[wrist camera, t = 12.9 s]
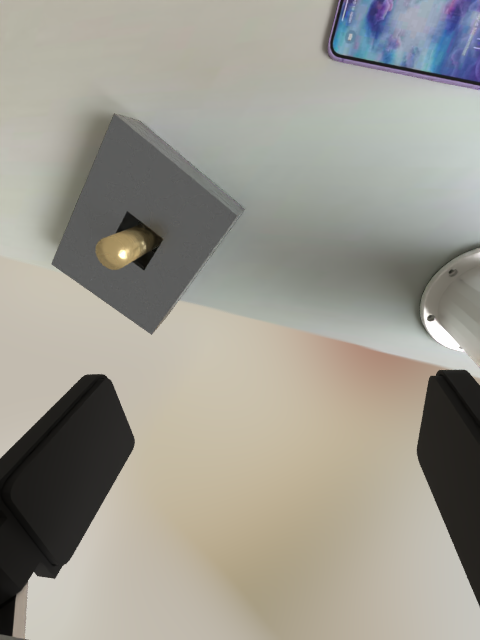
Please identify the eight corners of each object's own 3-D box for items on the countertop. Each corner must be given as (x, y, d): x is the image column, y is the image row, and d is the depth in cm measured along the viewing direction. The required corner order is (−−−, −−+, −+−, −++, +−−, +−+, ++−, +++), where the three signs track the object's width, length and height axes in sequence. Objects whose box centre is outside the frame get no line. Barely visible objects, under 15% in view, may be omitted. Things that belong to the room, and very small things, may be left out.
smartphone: (355, -66, 23) (557, -30, 22) (353, -58, 24) (548, -23, 23) (324, 56, 26) (499, 91, 25) (323, 60, 27) (492, 94, 26)
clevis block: (245, 209, 33) (237, 215, 29) (166, 316, 42) (151, 334, 37) (139, 120, 31) (114, 113, 27) (78, 253, 39) (51, 264, 35)
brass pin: (171, 230, 36) (131, 251, 27) (159, 250, 37) (118, 276, 29) (150, 214, 35) (102, 230, 27) (139, 234, 37) (90, 256, 28)
